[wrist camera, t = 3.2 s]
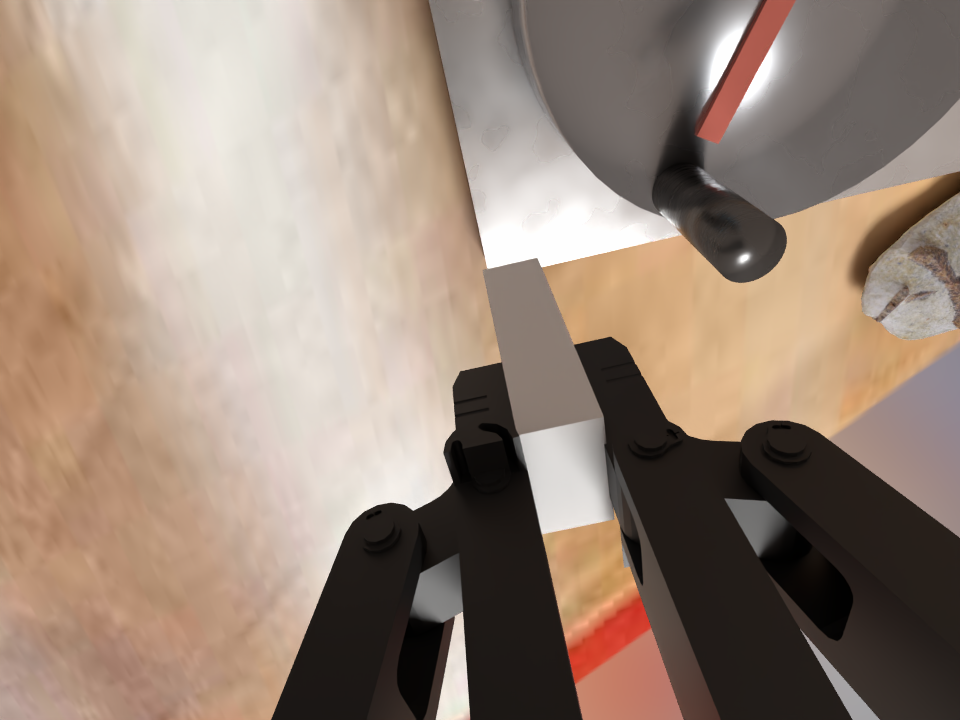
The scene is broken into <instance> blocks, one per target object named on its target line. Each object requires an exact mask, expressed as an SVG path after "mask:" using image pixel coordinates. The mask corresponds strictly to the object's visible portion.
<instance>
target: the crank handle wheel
mask: <svg viewBox="0 0 960 720" xmlns="http://www.w3.org/2000/svg"><path fill="white" fill-rule="evenodd" d="M511 5H512V16H513V24H514V29H515V33H516V38H517V43H518V48H519V53H520V56H521V59H522V62H523V65H524V68H525V71H526V74H527V77H528V80H529V83H530V86H531V88H532V90H533V92H534V94H535V96H536V98H537V100H538V102H539V104H540V106H541V108H542V110H543V112H544V113H545V115H546V116H547V118H548V119H549V121H550V122H551V124H552V125H553V127H554V128H555V130H556V131H557V133H558V134H559V135H560V137H561V138H562V139H563V140H564V141H565V142H566V144H567V145H568V146H569V147H570V148H571V149H572V151H573V152H574V153H575V154H576V155H577V156H578V157H579V159H580V160H581V161H582V162H583V163H584V164H585V165H586V166H587V168H588V169H589V170H590V171H591V172H592V173H593V174H594V175H595V176H596V177H597V178H598V179H599V180H600V181H601V182H603V183H604V184H605V185H606V186H607V187H609V188H610V189H611V190H612V191H614V192H615V193H616V194H617V195H619V196H621V197H622V198H624V199H626V200H627V201H629V202H631V203H632V204H634V205H636V206H637V207H639V208H641V209H644V210H646V211H649V212H651V213H654V214H656V215H659V216H661V217H664V218H666V219H667V220H668V221H669V222H670V223H671V224H672V225H673V226H674V227H675V228H676V229H677V230H678V231H679V232H680V233H681V234H682V235H683V236H684V237H685V238H686V239H687V240H688V241H689V242H690V243H691V244H692V245H693V246H694V247H695V248H696V249H697V250H698V251H699V252H700V253H701V254H702V255H703V256H704V257H705V258H706V259H707V260H708V261H709V262H710V263H711V264H712V265H713V266H714V267H715V268H716V269H717V270H718V271H719V272H720V273H721V274H722V275H723V276H724V277H725V278H726V279H728V280H730V281H733V282H738V283H745V282H750V281H754V280H756V279H759V278H761V277H763V276H764V275H766V274H767V273H768V272H770V271H771V270H772V269H773V268H774V267H775V266H776V265H777V264H778V262H779V261H780V259H781V258H782V256H783V254H784V252H785V249H786V244H787V237H786V232H785V230H784V228H783V227H782V225H780V224H779V223H778V222H777V221H775V220H774V219H776V218H779V217H783V216H786V215H789V214H793V213H796V212H799V211H802V210H804V209H807V208H809V207H812V206H814V205H817V204H819V203H822V202H824V201H827V200H829V199H830V198H832V197H834V196H836V195H838V194H840V193H842V192H844V191H846V190H848V189H849V188H851V187H853V186H855V185H857V184H858V183H860V182H861V181H863V180H865V179H866V178H868V177H869V176H871V175H872V174H874V173H875V172H877V171H878V170H880V169H882V168H883V167H885V166H886V165H887V164H888V163H890V162H891V161H892V160H894V159H895V158H896V157H897V156H899V155H900V154H901V153H903V152H904V151H905V150H906V149H908V148H909V147H910V146H912V145H913V144H914V143H915V142H916V141H917V140H918V139H919V138H921V137H922V136H923V135H924V134H925V133H926V132H927V131H928V130H929V129H930V128H931V127H933V126H934V125H935V124H936V123H937V122H938V121H939V120H940V119H941V118H942V117H943V116H944V115H945V114H946V113H947V112H948V111H949V110H950V108H951V107H952V106H953V105H954V104H955V103H956V102H957V101H958V100H959V99H960V0H511Z"/></svg>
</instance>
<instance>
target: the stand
mask: <svg viewBox="0 0 960 720" xmlns="http://www.w3.org/2000/svg"><path fill="white" fill-rule="evenodd" d="M429 5H430V9H431V14H432V19H433V23H434V28H435V32H436V37H437V41H438V46H439V50H440V55H441V60H442V64H443V69H444V73H445V78H446V82H447V87H448V91H449V96H450V101H451V105H452V110H453V114H454V119H455V123H456V128H457V132H458V137H459V142H460V146H461V151H462V155H463V160H464V164H465V169H466V174H467V178H468V183H469V187H470V192H471V196H472V201H473V205H474V210H475V215H476V219H477V224H478V228H479V233H480V237H481V242H482V246H483V251H484V256H485V260H486V264H487V269H489V268H494V267H498V266H502V265H507V264H511V263H516V262H520V261H524V260H529V259H533V258H538V260H539V262H540V265H541V267H543V266H548V265H552V264H557V263H561V262H565V261H570V260H574V259H578V258H583V257H587V256H591V255H596V254H600V253H605V252H609V251H613V250H618V249H622V248H626V247H631V246H635V245H640V244H644V243H648V242H653V241H657V240H661V239H666V238H670V237H674V236H679V235H682V234H681V233H680V232H679V231H678V230H677V229H676V228H675V227H674V226H673V225H672V224H671V223H670V222H669V221H668V220H667V219H666V218H664V217H661V216H659V215H656V214H654V213H651V212H649V211H646V210H644V209H641V208H639V207H637V206H636V205H634V204H632V203H631V202H629V201H627V200H626V199H624V198H622V197H621V196H619V195H617V194H616V193H615V192H614V191H612V190H611V189H610V188H609V187H607V186H606V185H605V184H604V183H603V182H601V181H600V180H599V179H598V178H597V177H596V176H595V175H594V174H593V173H592V172H591V171H590V170H589V169H588V168H587V166H586V165H585V164H584V163H583V162H582V161H581V160H580V159H579V157H578V156H577V155H576V154H575V153H574V152H573V151H572V149H571V148H570V147H569V146H568V145H567V144H566V142H565V141H564V140H563V139H562V138H561V137H560V135H559V134H558V133H557V131H556V130H555V128H554V127H553V125H552V124H551V122H550V121H549V119H548V118H547V116H546V115H545V113H544V112H543V110H542V108H541V106H540V104H539V102H538V100H537V98H536V96H535V94H534V92H533V90H532V88H531V86H530V83H529V80H528V77H527V74H526V71H525V68H524V65H523V62H522V59H521V56H520V53H519V48H518V43H517V38H516V33H515V29H514V24H513V16H512V5H511V0H429ZM958 171H960V99H959V100H958V101H957V102H956V103H955V104H954V105H953V106H952V107H951V108H950V110H949V111H948V112H947V113H946V114H945V115H944V116H943V117H942V118H941V119H940V120H939V121H938V122H937V123H936V124H935V125H934V126H933V127H931V128H930V129H929V130H928V131H927V132H926V133H925V134H924V135H923V136H922V137H921V138H919V139H918V140H917V141H916V142H915V143H914V144H913V145H912V146H910V147H909V148H908V149H906V150H905V151H904V152H903V153H901V154H900V155H899V156H897V157H896V158H895V159H894V160H892V161H891V162H890V163H888V164H887V165H886V166H885V167H883V168H882V169H880V170H878V171H877V172H875V173H874V174H872V175H871V176H869V177H868V178H866V179H865V180H863V181H861V182H860V183H858V184H857V185H855V186H853V187H851V188H849V189H848V190H846V191H844V192H842V193H840V194H838V195H836V196H834V197H832V198H830V199H829V200H827V201H832V200H836V199H840V198H845V197H849V196H854V195H858V194H862V193H867V192H871V191H875V190H880V189H884V188H889V187H893V186H897V185H902V184H906V183H910V182H915V181H919V180H923V179H928V178H932V177H937V176H941V175H945V174H950V173H954V172H958ZM827 201H824V202H827ZM822 203H823V202H822Z"/></svg>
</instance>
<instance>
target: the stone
mask: <svg viewBox="0 0 960 720" xmlns="http://www.w3.org/2000/svg"><path fill="white" fill-rule="evenodd" d="M868 271H869V273H868V276H867V279H866V283H865V286H864V289H863V293H862V297H861V301H862V312H863V313H864V314H865V315H867V316H870V317H872V318H873V319H874V320H876V321H877V322H881V323H882V325H883V326H884V327H885V329H886V330H887V331H888V332H890V333H891V334H893V335H895V336H897V337H898V338H900V339H905V340H916V339H924V338H927V337H931V336H934V335H938V334H941V333H944V332H947V331H951V330H955V329H958V328H959V329H960V193H958V194H956V195H954V196H953V197H951V198H950V199H949V200H947V201H946V202H944V203H943V204H942V205H940V206H939V207H938V208H936V209H935V210H933V211H932V212H930V213H929V214H927V215H926V216H925V217H924V218H922V219H921V220H920V221H919V222H918V223H916V224H915V225H913V226H911V227H910V229H909V230H907V231H906V232H905V233H904V234H903V235H902V236H901V237H900V238H899V240H897V241H896V242H895V243H894V244H893V245H892V246H891V247H890V248H888V249H887V250H886V251H885V252H883V253H882V254H881V255H880V256H879V257H878V259H877V261H876V262H875V263H873V264H872V265H871V266H870V267H869V269H868Z"/></svg>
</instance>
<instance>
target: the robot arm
mask: <svg viewBox="0 0 960 720" xmlns="http://www.w3.org/2000/svg"><path fill="white" fill-rule="evenodd" d="M483 274H484V279H485V284H486V289H487V293H488V298H489V303H490V308H491V312H492V317H493V322H494V327H495V332H496V336H497V341H498V346H499V351H500V356H501V360H502V362H501V363H496V364H492V365H487V366H483V367H478V368H474V369H469V370H465V371H460V373H459V375H458V377H457V379H456V381H455V383H454V385H453V399H454V412H455V425H456V430H455V431H454V432H453V433H452V434H451V436H450V437H449V438H448V440H447V441H446V443H445V447H444V452H443V453H444V456H445V459H446V462H447V465H448V468H449V471H450V474H451V477H452V480H453V483H452V485H451V486H450V487H449V489H448V490H447V491H445V492H444V493H443V494H442V495H441V496H440V497H438V498H437V499H435V500H433V501H432V502H430V503H428V504H426V505H424V506H422V507H420V508H418V509H416V510H414V511H413V510H411V509H410V508H408V507H407V506H405V505H403V504H396V503H387V504H382V505H377V506H375V507H373V508H371V509H369V510H367V511H365V512H363V513H362V514H361V515H360V516H359V517H358V518H357V519H356V520H354V521H353V522H352V524H351V526H350V527H349V529H348V531H347V532H346V534H345V536H344V539H343V541H342V544H341V546H340V549H339V551H338V554H337V556H336V559H335V561H334V564H333V566H332V569H331V571H330V574H329V576H328V579H327V581H326V584H325V586H324V589H323V591H322V594H321V596H320V599H319V601H318V604H317V606H316V609H315V611H314V614H313V616H312V619H311V621H310V624H309V626H308V629H307V631H306V634H305V636H304V639H303V641H302V644H301V646H300V649H299V651H298V654H297V656H296V659H295V661H294V664H293V666H292V669H291V671H290V674H289V676H288V679H287V681H286V684H285V686H284V689H283V691H282V694H281V696H280V699H279V701H278V704H277V706H276V709H275V712H274V714H273V717H272V719H271V720H436V715H437V710H438V704H439V699H440V694H441V689H442V683H443V678H444V673H445V667H446V662H447V657H448V651H449V646H450V641H451V635H452V630H453V625H454V619H455V615H457V614H459V613H461V612H463V618H464V633H465V647H466V662H467V677H468V692H469V706H470V720H583V719H582V714H581V709H580V705H579V701H578V696H577V691H576V687H575V682H574V678H573V673H572V669H571V664H570V659H569V655H568V650H567V646H566V641H565V637H564V632H563V628H562V623H561V619H560V614H559V609H558V605H557V600H556V596H555V591H554V587H553V582H552V578H551V573H550V569H549V564H548V559H547V555H546V551H545V546H544V542H543V537H542V534H545V533H550V532H555V531H560V530H565V529H570V528H574V527H579V526H584V525H589V524H594V523H599V522H604V521H609V520H613V519H614V511H613V507H614V510H615V513H616V516H617V518H618V521H619V524H620V530H621V541H622V551H623V561H624V568H625V567H630V568H631V571H632V574H633V577H634V579H635V582H636V585H637V588H638V591H639V594H640V596H641V599H642V602H643V605H644V608H645V611H646V614H647V616H648V619H649V622H650V625H651V628H652V631H653V633H654V636H655V639H656V642H657V645H658V648H659V650H660V653H661V656H662V659H663V662H664V665H665V668H666V670H667V673H668V676H669V679H670V682H671V685H672V687H673V690H674V693H675V696H676V699H677V702H678V705H679V707H680V710H681V713H682V716H683V719H684V720H852V718H851V716H850V715H849V713H848V711H847V709H846V708H845V706H844V704H843V703H842V701H841V699H840V697H839V696H838V694H837V692H836V690H835V689H834V687H833V685H832V683H831V682H830V680H829V678H828V677H827V675H826V673H825V671H824V670H823V668H822V666H821V664H820V663H819V661H818V659H817V658H816V656H815V654H814V652H813V651H812V649H811V647H810V645H809V644H808V642H807V640H806V639H805V637H804V635H803V633H802V632H801V630H802V631H803V632H804V634H805V635H806V636H807V637H808V638H809V639H810V640H811V641H812V643H813V644H814V645H815V646H816V647H817V648H818V650H819V651H820V652H821V653H822V654H823V655H824V656H825V658H826V659H827V660H828V661H829V662H830V663H831V664H832V665H833V667H834V668H835V669H836V670H837V671H838V672H839V674H841V676H842V677H843V678H844V679H845V680H846V681H847V683H848V684H849V685H850V686H851V687H852V688H853V689H854V691H855V692H856V693H857V694H858V695H859V696H860V697H861V698H862V700H863V701H864V702H865V703H866V704H867V705H868V707H869V708H870V709H871V710H872V711H873V712H874V713H875V714H876V716H877V717H878V718H879V719H880V720H960V538H959V537H958V536H957V535H955V534H954V533H953V532H951V531H950V530H949V529H947V528H946V527H944V526H943V525H942V524H941V523H939V522H938V521H937V520H935V519H934V518H933V517H931V516H930V515H928V514H927V513H926V512H925V511H923V510H922V509H921V508H919V507H917V505H915V504H914V503H913V502H911V501H910V500H909V499H907V498H906V497H905V496H903V495H902V494H900V493H899V492H898V491H896V490H895V489H894V488H892V487H891V486H890V485H888V484H887V483H886V482H884V481H883V480H882V479H880V478H879V477H878V476H876V475H875V474H874V473H872V472H871V471H869V470H868V469H867V468H865V467H864V466H863V465H862V464H860V463H859V462H858V461H856V460H855V459H854V458H852V457H851V456H850V455H848V454H847V453H845V452H844V451H843V450H841V449H840V448H839V447H838V446H836V445H835V444H833V443H832V442H831V441H829V440H828V439H827V438H825V437H824V436H823V435H821V434H820V433H818V432H817V431H815V430H813V429H811V428H809V427H807V426H806V425H802V424H798V423H794V422H791V421H774V420H771V421H767V422H763V423H759V424H756V425H754V426H753V427H751V428H750V429H748V430H747V431H746V432H745V434H744V436H743V438H742V440H741V442H730V441H710V440H701V439H698V438H694V437H691V436H688V435H687V434H686V433H685V432H684V431H683V430H682V429H681V428H680V427H679V426H677V425H675V424H673V423H671V422H669V421H668V420H667V419H666V417H665V415H664V414H663V412H662V410H661V408H660V406H659V405H658V403H657V401H656V399H655V397H654V396H653V394H652V392H651V390H650V388H649V387H648V385H647V383H646V381H645V379H644V378H643V376H641V372H640V371H639V369H638V367H637V365H636V364H635V362H634V360H633V358H632V356H631V354H630V353H629V351H628V349H627V347H625V346H624V345H622V344H621V343H619V342H618V341H616V340H615V339H613V338H612V337H607V338H603V339H598V340H594V341H589V342H585V343H580V344H576V345H574V344H573V342H572V339H571V337H570V334H569V332H568V330H567V327H566V325H565V322H564V320H563V318H562V315H561V313H560V310H559V308H558V306H557V303H556V301H555V298H554V296H553V294H552V291H551V289H550V286H549V284H548V282H547V279H546V277H545V274H544V272H543V270H542V267H541V265H540V262H539V260H538V258H533V259H529V260H524V261H520V262H516V263H511V264H507V265H502V266H498V267H494V268H489V269H485V270H483ZM800 629H801V630H800Z"/></svg>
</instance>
